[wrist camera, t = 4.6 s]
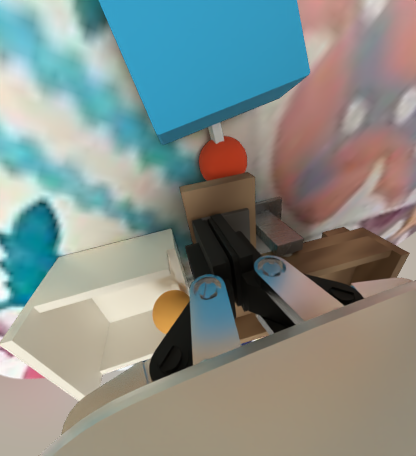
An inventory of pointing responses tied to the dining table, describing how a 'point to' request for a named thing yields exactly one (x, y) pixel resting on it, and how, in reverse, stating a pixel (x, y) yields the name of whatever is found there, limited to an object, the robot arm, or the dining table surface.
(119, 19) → the lever
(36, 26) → the dining table surface
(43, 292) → the box
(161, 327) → the ball
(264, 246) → the stand
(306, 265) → the brown shallow tray
